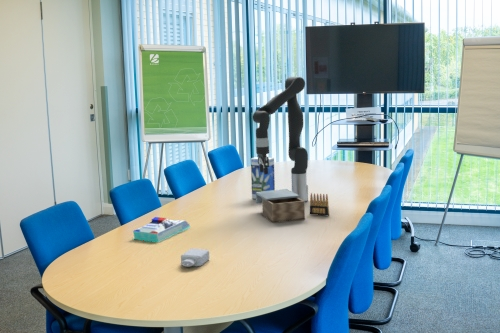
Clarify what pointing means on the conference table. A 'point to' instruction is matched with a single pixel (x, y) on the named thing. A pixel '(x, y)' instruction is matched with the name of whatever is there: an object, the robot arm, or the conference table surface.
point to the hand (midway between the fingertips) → (263, 173)
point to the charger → (195, 257)
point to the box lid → (275, 195)
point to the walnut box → (283, 209)
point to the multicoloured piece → (160, 229)
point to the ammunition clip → (319, 205)
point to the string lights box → (262, 177)
